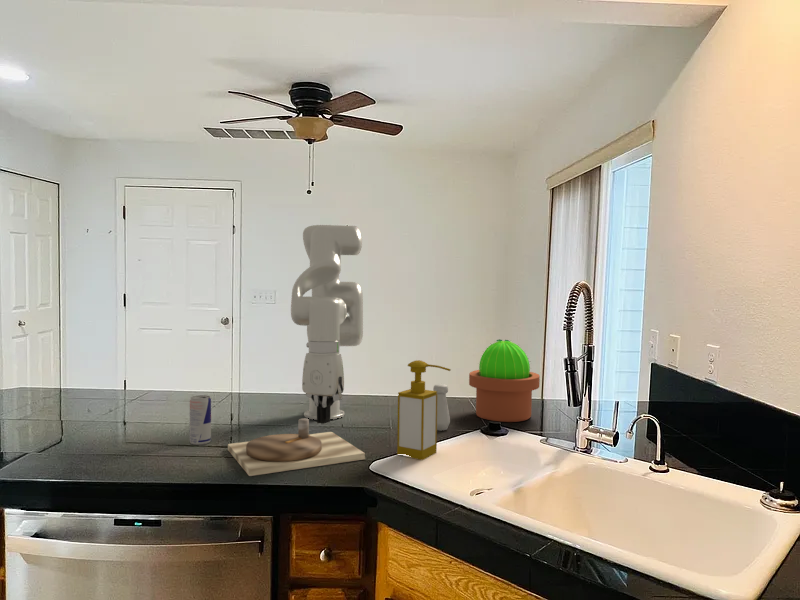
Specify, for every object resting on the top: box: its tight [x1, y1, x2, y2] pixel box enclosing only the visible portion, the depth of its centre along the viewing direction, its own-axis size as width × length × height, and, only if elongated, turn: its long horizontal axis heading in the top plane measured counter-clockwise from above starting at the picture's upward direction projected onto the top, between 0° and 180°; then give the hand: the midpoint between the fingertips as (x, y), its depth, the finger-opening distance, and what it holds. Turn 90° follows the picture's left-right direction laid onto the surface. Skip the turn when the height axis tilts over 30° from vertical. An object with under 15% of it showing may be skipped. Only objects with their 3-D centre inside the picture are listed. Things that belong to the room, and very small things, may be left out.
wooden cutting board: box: [227, 431, 366, 477], centre depth 148 cm, size 22×28×2 cm
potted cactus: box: [468, 339, 541, 423], centre depth 191 cm, size 22×22×25 cm
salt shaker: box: [432, 383, 451, 431], centre depth 174 cm, size 6×6×13 cm
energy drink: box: [189, 394, 212, 446], centre depth 157 cm, size 5×5×12 cm
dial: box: [246, 417, 322, 461], centre depth 145 cm, size 18×18×6 cm
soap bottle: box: [396, 359, 452, 461], centre depth 148 cm, size 7×13×24 cm, turn 58°
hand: (323, 422), depth 147 cm, fingers closed
